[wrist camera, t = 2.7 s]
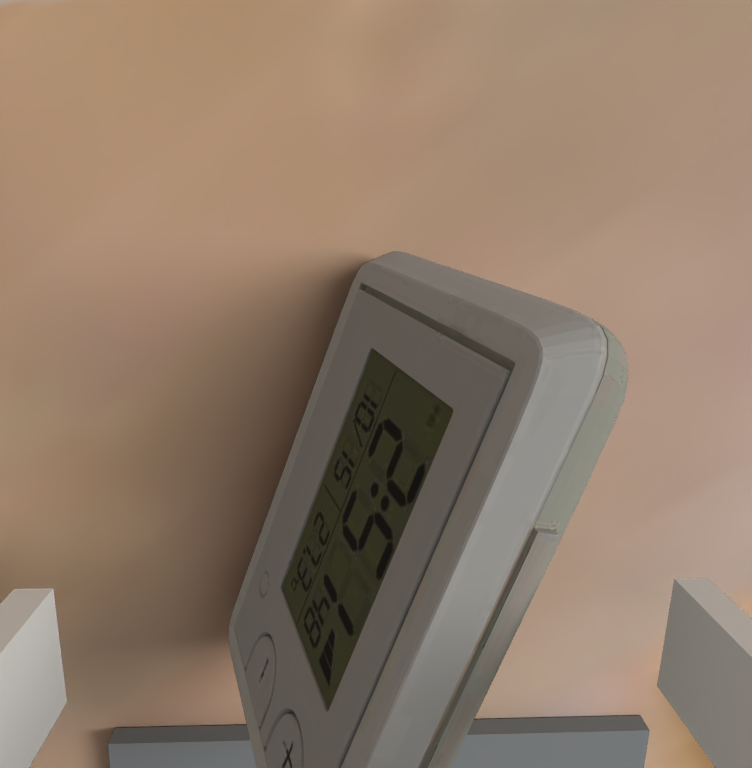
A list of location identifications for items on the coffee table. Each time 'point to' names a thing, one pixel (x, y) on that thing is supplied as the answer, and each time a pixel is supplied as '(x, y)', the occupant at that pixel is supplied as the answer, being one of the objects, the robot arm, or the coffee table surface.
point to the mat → (472, 764)
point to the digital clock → (416, 514)
